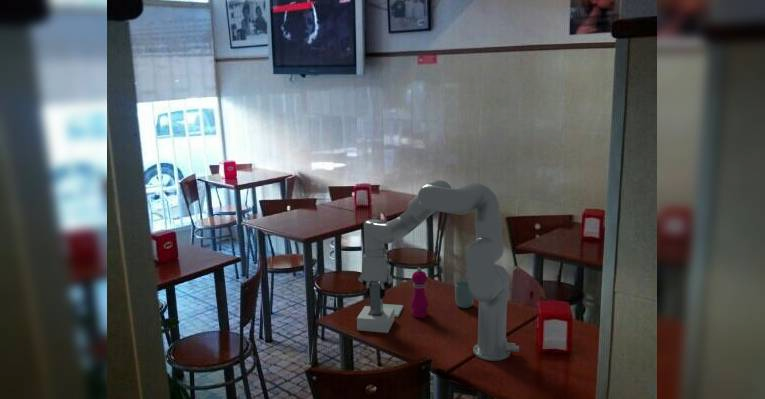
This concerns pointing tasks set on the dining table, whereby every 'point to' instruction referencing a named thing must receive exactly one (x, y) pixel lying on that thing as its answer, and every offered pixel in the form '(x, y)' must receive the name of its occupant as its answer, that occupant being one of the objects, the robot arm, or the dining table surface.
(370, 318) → the socket block
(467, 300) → the cup
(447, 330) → the dining table surface
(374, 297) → the steel pin
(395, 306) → the white square plate
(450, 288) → the dining table surface
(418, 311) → the pepper mill
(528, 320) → the dining table surface
